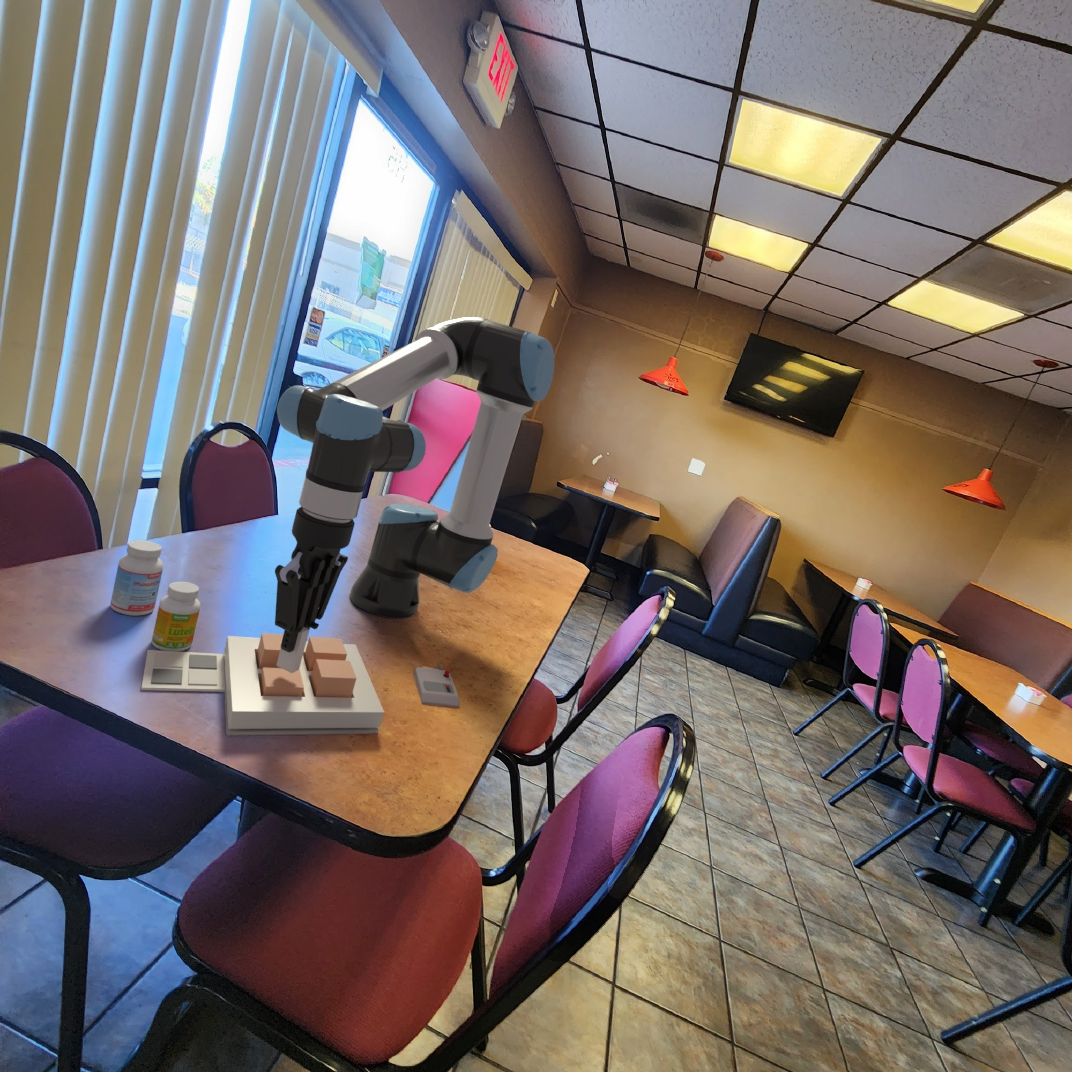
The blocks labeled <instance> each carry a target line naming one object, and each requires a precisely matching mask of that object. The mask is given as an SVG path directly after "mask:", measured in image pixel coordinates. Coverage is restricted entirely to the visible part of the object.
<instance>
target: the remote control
mask: <svg viewBox="0 0 1072 1072" xmlns="http://www.w3.org/2000/svg"><path fill="white" fill-rule="evenodd" d="M436 665H437V668H434V667H425V666H423V665H420V667H416V668H415V669H414V671H413V676H414V680H415V684H416V687H417V692H418V695H419V698H420V703H421V705H431V706H439V707H447V706H451V707H450V708H457V707H459V708H460V696H459V694H458V692H457V689H456V686H455V683H454V680H453V678H452V675H451V671H450V670H449V669H446V670H444V669H443V668H442V667H441V665H440V663H439V662H436Z"/></svg>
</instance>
